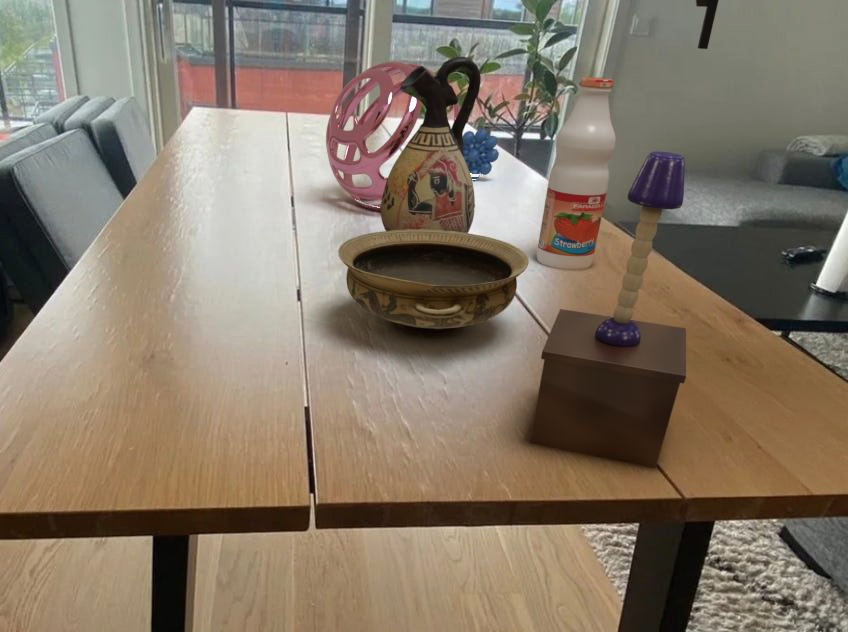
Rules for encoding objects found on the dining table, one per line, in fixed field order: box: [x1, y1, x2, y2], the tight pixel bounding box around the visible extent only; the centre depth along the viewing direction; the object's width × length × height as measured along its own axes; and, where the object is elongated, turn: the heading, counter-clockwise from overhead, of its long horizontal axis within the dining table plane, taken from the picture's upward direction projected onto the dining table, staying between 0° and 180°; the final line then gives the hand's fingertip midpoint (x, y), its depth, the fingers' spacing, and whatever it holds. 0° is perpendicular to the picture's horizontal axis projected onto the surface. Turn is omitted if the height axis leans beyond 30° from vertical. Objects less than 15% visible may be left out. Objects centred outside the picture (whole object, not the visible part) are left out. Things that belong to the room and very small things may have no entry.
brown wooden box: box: [529, 308, 687, 469], centre depth 76 cm, size 13×13×10 cm
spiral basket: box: [325, 60, 461, 212], centre depth 154 cm, size 28×28×27 cm
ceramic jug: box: [379, 56, 482, 233], centre depth 123 cm, size 17×15×30 cm
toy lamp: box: [595, 150, 686, 346], centre depth 69 cm, size 5×5×17 cm
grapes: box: [462, 128, 500, 180], centre depth 185 cm, size 12×7×12 cm, turn 71°
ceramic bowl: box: [337, 229, 530, 338], centre depth 99 cm, size 30×24×10 cm
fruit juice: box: [536, 76, 617, 271], centre depth 123 cm, size 9×9×28 cm
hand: (779, 52), depth 72 cm, fingers open, 13 cm apart
